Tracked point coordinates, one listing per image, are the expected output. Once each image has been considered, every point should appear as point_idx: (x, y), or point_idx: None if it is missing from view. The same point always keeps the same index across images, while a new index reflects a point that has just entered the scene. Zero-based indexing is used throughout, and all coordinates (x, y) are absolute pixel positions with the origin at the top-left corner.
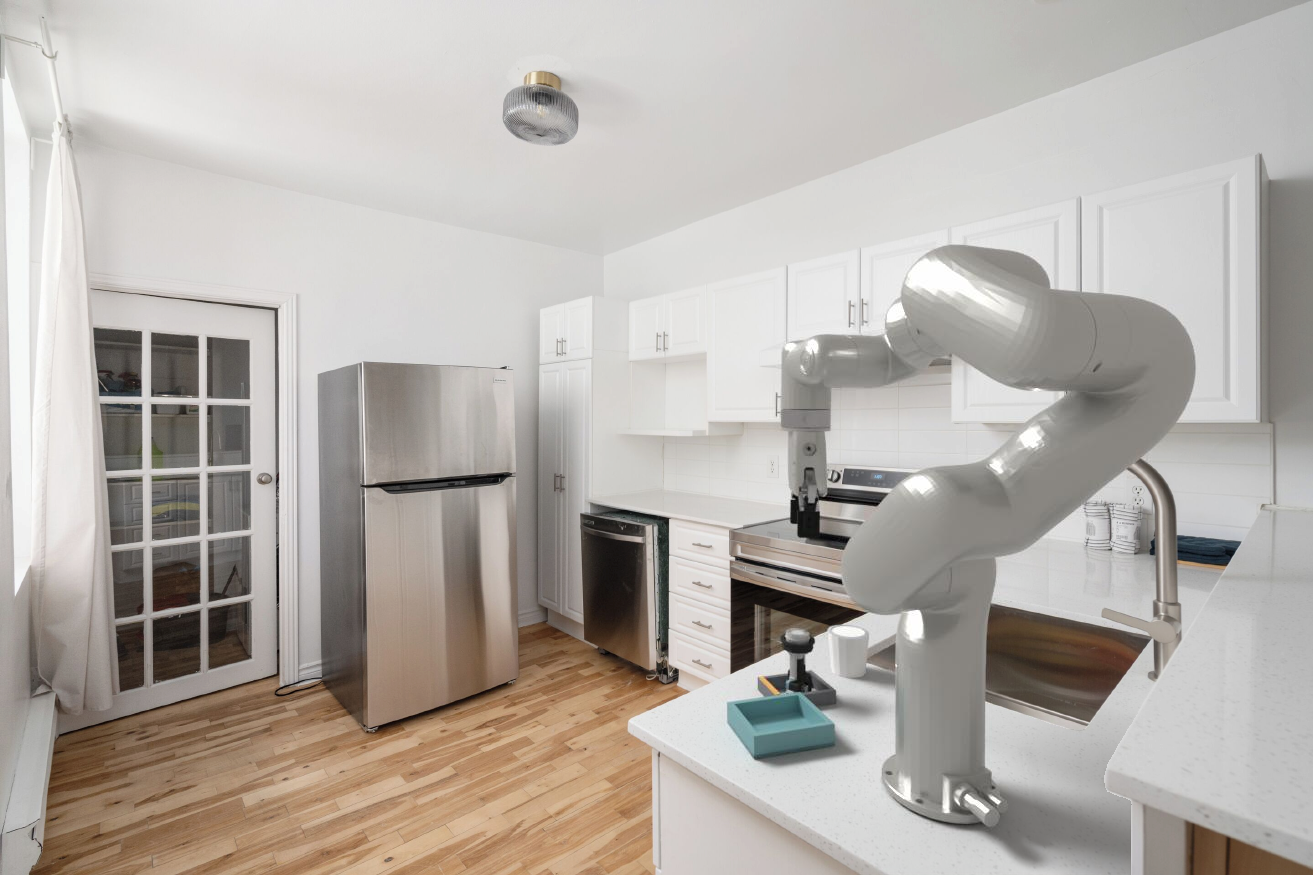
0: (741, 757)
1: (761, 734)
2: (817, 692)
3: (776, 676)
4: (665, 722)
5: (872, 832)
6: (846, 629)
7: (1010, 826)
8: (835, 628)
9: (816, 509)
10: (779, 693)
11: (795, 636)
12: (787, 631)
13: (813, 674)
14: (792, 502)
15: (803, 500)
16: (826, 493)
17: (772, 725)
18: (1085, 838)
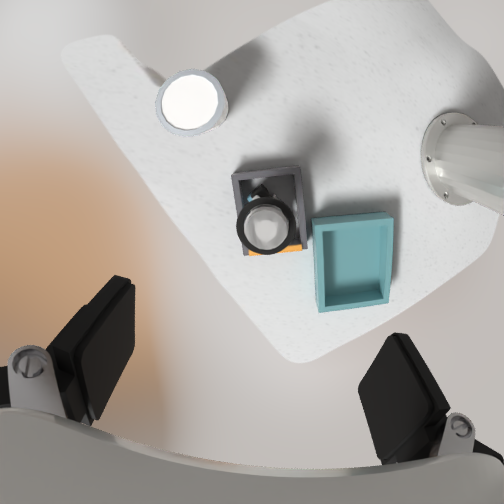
0: None
1: (388, 296)
2: (301, 194)
3: None
4: (300, 348)
5: (473, 237)
6: (177, 101)
7: None
8: (171, 118)
9: (463, 429)
10: (300, 245)
11: (283, 239)
12: (259, 245)
13: (245, 177)
14: (99, 415)
15: (77, 382)
16: (497, 459)
17: (340, 262)
18: (501, 104)
